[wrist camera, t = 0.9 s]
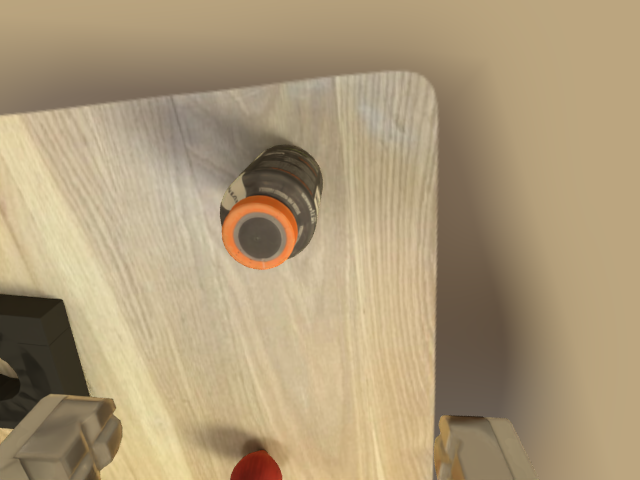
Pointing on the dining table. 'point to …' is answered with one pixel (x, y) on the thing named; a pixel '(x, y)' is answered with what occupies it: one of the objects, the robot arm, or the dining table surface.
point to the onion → (257, 467)
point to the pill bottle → (272, 207)
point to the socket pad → (36, 355)
